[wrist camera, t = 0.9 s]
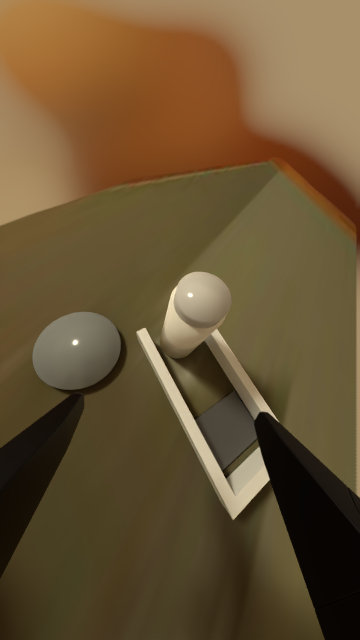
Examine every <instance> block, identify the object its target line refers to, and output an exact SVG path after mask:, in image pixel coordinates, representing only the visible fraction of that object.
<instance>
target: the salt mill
mask: <svg viewBox="0 0 360 640" xmlns="http://www.w3.org/2000/svg"><path fill="white" fill-rule="evenodd" d="M231 304H232V298H231V294H230V291H229V289H228V287H227V286H226V285H225V283H224V282H223V281H222V280H220V279H219V278H218V277H216V276H214V275H212V274H209V273H205V272H193V273H190V274H188V275H186V276H184V277H183V278H182V279H181V280H180V282H179V283H178V286H177V287H176V288H175V289H174V290H173V292H172V294H171V298H170V302H169V306H168V310H167V314H166V317H165V321H164V325H163V329H162V333H161V337H160V345H161V348H162V350H163V351H164V352H165V353H166V354H167V355H168V356H170V357H172V358H177V359H178V358H184V357H186V356H188V355H189V354H190V353H191V352H192V351H193V350H194V349H195V348H196V347H198V346H199V345H200V344H201V343H202V342H203V341H204V340H205V339H206V338H207V337H208V336H209V335H211V334H212V333H213V332H214V331H215V330H216V329H217V328H218V327H219V326H220V325H221V324H222V323H223V322H224V320H225V318H226V315H227V313H228V312H229V310H230V308H231Z"/></svg>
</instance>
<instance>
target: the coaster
mask: <svg viewBox="0 0 360 640" xmlns="http://www.w3.org/2000/svg"><path fill="white" fill-rule="evenodd" d="M120 353H121V339H120V336H119V333H118V331H117V329H116V327H115V326H114V325H113V323H112V322H111V321H110V320H108V319H107V318H105V317H104V316H102V315H99V314H96V313H92V312H76V313H71V314H68V315H65V316H63V317H61V318H59V319H57V320H55V321H54V322H52V323H51V324H50V325H49V326H48V327H46V328H45V330H44V331H43V332H42V333H41V334H40V336H39V338H38V339H37V341H36V343H35V346H34V350H33V365H34V369H35V371H36V373H37V374H38V376H39V377H40V378H41V379H42V380H43V381H44V382H45V383H46V384H48V385H50V386H52V387H55V388H59V389H65V390H78V389H83V388H87V387H90V386H92V385H94V384H96V383H98V382H100V381H101V380H103V379H104V378H105V377H106V376H107V375H108V374H109V373H110V372H111V371H112V370H113V369H114V367H115V365H116V364H117V362H118V360H119V357H120Z"/></svg>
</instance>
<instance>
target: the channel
mask: <svg viewBox="0 0 360 640" xmlns="http://www.w3.org/2000/svg"><path fill="white" fill-rule="evenodd" d="M137 338H138V340H139V342H140V344H141V346H142V348H143V350H144V352H145V354H146V356H147V358H148V360H149V362H150V364H151V366H152V368H153V370H154V372H155V374H156V376H157V378H158V380H159V382H160V384H161V386H162V388H163V390H164V391H165V393H166V395H167V397H168V399H169V401H170V403H171V405H172V407H173V409H174V411H175V413H176V415H177V417H178V419H179V421H180V423H181V425H182V427H183V429H184V431H185V433H186V435H187V437H188V439H189V441H190V443H191V445H192V446H193V448H194V450H195V452H196V454H197V456H198V458H199V460H200V462H201V464H202V466H203V468H204V470H205V472H206V474H207V476H208V478H209V480H210V482H211V484H212V486H213V488H214V490H215V492H216V494H217V496H218V498H219V499H220V501H221V503H222V504H223V506H224V507H225V509H226V510H227V512H228V513H229V515H230V516H231V517H232V519H233V520H234V519H235V518H236V517H237V515H238V514H239V513H240V512H241V511H242V510H243V509H244V508H245V507H246V505H247V504H248V503H249V502H250V501H251V500H252V499H253V498H254V496H255V495H256V494H257V493H258V492H259V491H260V490H261V489H262V488H263V486H264V485H265V484H266V483H267V482H268V481H269V480H270V479H269V476H268V473H267V470H266V467H265V464H264V461H263V458H262V455H261V451H260V447H258V448H257V449H256V450H255V451H254V452H253V453H252V454H251V455H250V456H249V457H248V458H247V459H246V460H245V461H244V462H243V463H242V464H241V465H240V466H239V467H238V468H237V469H236V470H235V471H234V472H233V473H232V474H231V475H230V476H228V477H227V478H225V476H224V475H223V473H222V471H223V470H224V469H225V468H226V467H227V466H228V465H229V464H230V463H231V462H232V461H233V460H234V459H235V458H236V457H237V456H238V455H240V454H241V453H242V452H243V451H244V450H245V449H246V448H247V447H248V446H249V445H250V444H251V443H252V442H253V441H254V440H255V439H256V438H257V435H256V431H255V427H254V420H255V419H256V417H257V415H258V414H259V412H261V411H262V412H268V413H269V414H270V415H272V416H273V417H274V418H275V419H276V417H275V416H274V414H273V413H272V411H271V410H270V408H269V407H268V405H267V404H266V402H265V401H264V399H263V398H262V396H261V395H260V393H259V392H258V390H257V389H256V387H255V386H254V384H253V383H252V381H251V380H250V378H249V377H248V375H247V374H246V372H245V371H244V369H243V368H242V366H241V365H240V363H239V362H238V360H237V359H236V357H235V356H234V354H233V353H232V351H231V350H230V348H229V347H228V345H227V344H226V342H225V341H224V339H223V338H222V336H221V335H220V333H219V332H218V330H217V329H216V330H215V331H214V332H213V333H212V334H211V335H209V336H208V337H207V338H206V339H205V340H204V341H205V342H206V344H207V345H208V347H209V348H210V350H211V352H212V353H213V355H214V356H215V358H216V360H217V361H218V363H219V364H220V366H221V368H222V369H223V371H224V372H225V374H226V375H227V377H228V379H229V380H230V382H231V383H232V385H233V387H234V388H235V390H236V391H237V393H238V395H239V396H240V398H241V399H242V401H243V402H244V404H245V406H246V407H247V409H248V410H249V412H250V414H251V415H252V417H253V418H254V420H253V419H252V417H251V416H250V414H249V412H248V411H247V409H246V408H245V406H244V405H243V403H242V401H241V400H240V398H239V397H238V395H237V393H236V392H235V391H232V392H231V393H230V394H228V395H227V396H226V397H224V398H223V399H222V400H220V401H219V402H218V403H216V404H215V405H214V406H212V407H211V408H210V409H208V410H207V411H206V412H204V413H203V414H202V415H200V416H199V417H198V418H196V419H195V420H194V418H193V416H192V415H191V413H190V411H189V409H188V407H187V405H186V403H185V402H184V400H183V398H182V396H181V394H180V392H179V390H178V388H177V387H176V385H175V383H174V381H173V379H172V377H171V375H170V373H169V372H168V370H167V368H166V366H165V364H164V362H163V360H162V358H161V357H160V355H159V353H158V351H157V349H156V347H155V345H154V343H153V342H152V340H151V338H150V336H149V334H148V332H147V330H146V328H143V329H141V330H139V331H137ZM276 420H277V419H276ZM277 421H278V420H277Z"/></svg>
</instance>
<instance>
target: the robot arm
mask: <svg viewBox="0 0 360 640" xmlns="http://www.w3.org/2000/svg"><path fill="white" fill-rule="evenodd" d="M83 409H84V394H83V393H73V394H71V395H70V396H69V397H67V398H66V399H65V400H63V401H62V402H61V403H59V404H58V405H57V406H55V407H54V408H53V409H51V410H50V411H49V412H48V413H46V414H45V415H44V416H42V417H41V418H40V419H38V420H37V421H36V422H34V423H33V424H32V425H30V426H29V427H28V428H26V429H25V430H24V431H22V432H21V433H20V434H18V435H17V436H16V437H14V438H13V439H12V440H10V441H9V442H8V443H7V444H5V445H4V446H3V447H1V448H0V578H1V576H2V574H3V572H4V570H5V568H6V566H7V565H8V563H9V561H10V559H11V557H12V555H13V553H14V551H15V549H16V547H17V545H18V543H19V541H20V539H21V538H22V536H23V534H24V532H25V530H26V528H27V526H28V524H29V522H30V520H31V518H32V516H33V514H34V512H35V510H36V509H37V507H38V505H39V503H40V501H41V499H42V497H43V495H44V493H45V491H46V489H47V487H48V485H49V483H50V482H51V480H52V478H53V476H54V474H55V472H56V470H57V468H58V466H59V464H60V462H61V460H62V458H63V456H64V455H65V453H66V450H67V448H68V446H69V444H70V442H71V439H72V437H73V434H74V432H75V429H76V427H77V424H78V422H79V420H80V417H81V415H82V412H83ZM254 427H255V431H256V435H257V439H258V443H259V447H260V451H261V455H262V458H263V461H264V464H265V467H266V470H267V473H268V476H269V479H270V482H271V485H272V488H273V490H274V493H275V496H276V499H277V502H278V505H279V508H280V511H281V514H282V517H283V519H284V522H285V525H286V528H287V531H288V534H289V537H290V540H291V543H292V545H293V548H294V551H295V554H296V557H297V560H298V563H299V566H300V569H301V571H302V574H303V577H304V580H305V583H306V586H307V589H308V592H309V595H310V598H311V600H312V603H313V606H314V608H315V612H316V615H317V618H318V621H319V624H320V627H321V630H322V633H323V636H324V638H325V640H360V498H359V497H358V496H357V495H356V494H355V493H354V492H353V491H352V490H351V489H350V488H348V487H347V486H346V485H345V484H344V483H343V482H342V481H341V480H340V479H339V478H338V477H337V476H336V475H335V474H334V473H332V472H331V471H330V470H329V469H328V468H327V467H326V466H325V465H324V464H323V463H322V462H321V461H320V460H319V459H317V458H316V457H315V456H314V455H313V454H312V453H311V452H310V451H309V450H308V449H307V448H306V447H305V446H304V445H303V444H301V443H300V442H299V441H298V440H297V439H296V438H295V437H294V436H293V435H292V434H291V433H290V432H289V431H288V430H287V429H285V428H284V427H283V426H282V425H281V424H280V423H279V422H278V421H277V420H276V419H275V418H274V417H273V416H272V415H270V414H269V413H268V412H262V411H261V412H259V414H258V415H257V417H256V419H255V421H254Z"/></svg>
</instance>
